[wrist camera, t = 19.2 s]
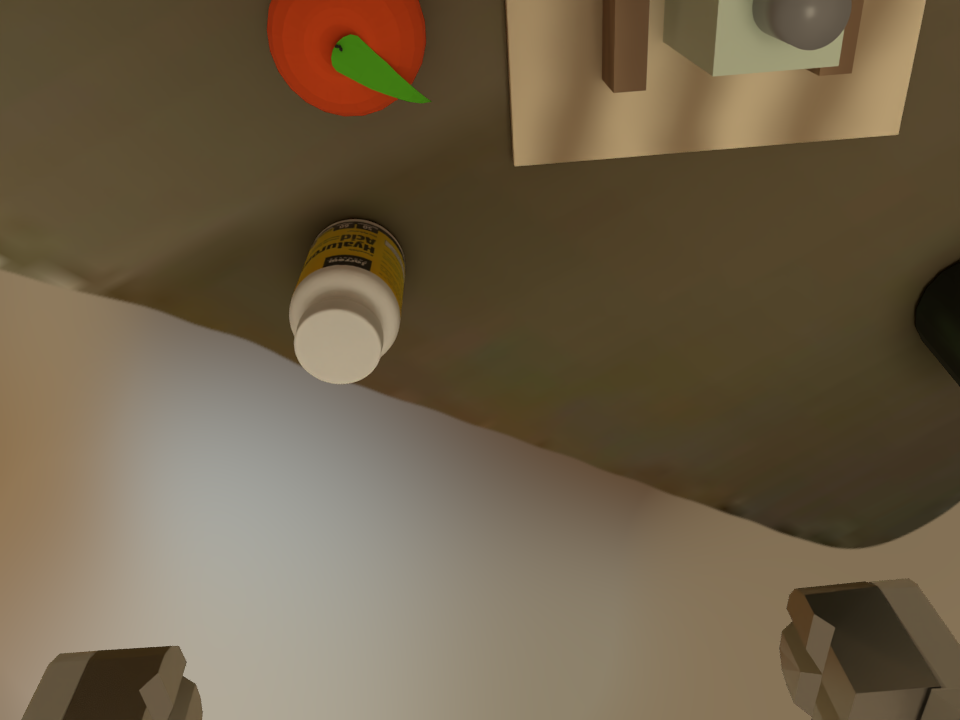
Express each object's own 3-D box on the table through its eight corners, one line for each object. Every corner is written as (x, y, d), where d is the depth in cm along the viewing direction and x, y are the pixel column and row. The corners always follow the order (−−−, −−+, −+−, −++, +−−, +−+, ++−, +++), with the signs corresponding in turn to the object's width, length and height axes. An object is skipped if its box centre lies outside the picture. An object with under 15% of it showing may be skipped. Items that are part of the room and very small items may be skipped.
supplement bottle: (386, 203, 43) (373, 281, 34) (418, 289, 45) (415, 381, 37) (292, 232, 43) (258, 316, 35) (330, 315, 46) (307, 411, 38)
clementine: (473, 19, 38) (480, 44, 32) (394, 136, 41) (387, 180, 35) (328, -94, 35) (306, -90, 29) (255, 40, 38) (220, 69, 32)
